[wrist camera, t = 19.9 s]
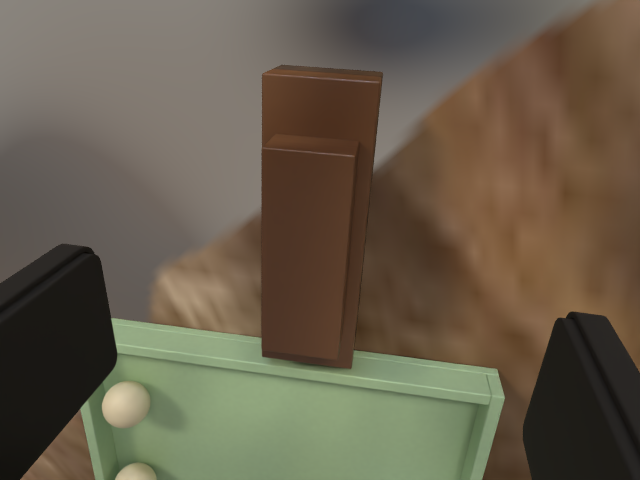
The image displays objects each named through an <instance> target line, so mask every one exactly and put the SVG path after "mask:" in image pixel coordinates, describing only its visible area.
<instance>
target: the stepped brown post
mask: <svg viewBox="0 0 640 480" xmlns="http://www.w3.org/2000/svg"><path fill="white" fill-rule="evenodd" d="M382 77H383V73H382V72H375V71H361V70H346V69H333V68H319V67H304V66H290V65H281V66H278V67H276V68H274V69H272V70H270V71H267V72H265V73H263V74H262V314H261V349H262V357H266V358H273V359H281V360H288V361H295V362H302V363H310V364H317V365H324V366H332V367H339V368H346V369H351V368H352V361H353V353H354V345H355V337H356V330H357V320H358V310H359V301H360V291H361V281H362V271H363V262H364V252H365V242H366V232H367V223H368V213H369V203H370V194H371V184H372V174H373V164H374V154H375V145H376V134H377V125H378V116H379V106H380V96H381V86H382Z"/></svg>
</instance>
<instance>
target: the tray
mask: <svg viewBox="0 0 640 480" xmlns="http://www.w3.org/2000/svg"><path fill="white" fill-rule="evenodd" d="M111 320H112V326H113V332H114V337H115V343H116V348H117V362H116V365H115V367H114V369H113V370H112V372H111V373H110V374H109V375H108V376H107V378H106V379H105V380H104V381H103V382H102V384H101V385H100V386H99V387H98V388H97V389H96V391H95V392H94V393H93V394H92V395H91V396H90V398H89V399H88V400H87V401H86V402H85V404H84V405H83V406H82V407H81V408H80V409H81V414H82V418H83V423H84V428H85V433H86V437H87V442H88V447H89V451H90V456H91V461H92V466H93V470H94V475H95V480H115V478H116V476H117V475H118V473H119V472H120V471H121V470H122V469H123V468H124V467H126V466H127V465H129V464H132V463H137V462H140V463H145V464H147V465H149V466H150V467H151V468H152V469H153V470H154V472H155V474H156V478H157V480H482V478H483V474H484V471H485V467H486V464H487V460H488V457H489V453H490V449H491V446H492V442H493V439H494V435H495V432H496V428H497V425H498V421H499V417H500V414H501V410H502V407H503V403H504V400H505V396H504V393H503V389H502V385H501V382H500V378H499V374H498V371H497V369H493V368H485V367H478V366H470V365H463V364H455V363H448V362H440V361H432V360H425V359H417V358H410V357H402V356H395V355H387V354H380V353H372V352H364V351H357V350H354V353H353V361H352V368H351V369H346V368H339V367H332V366H324V365H317V364H310V363H302V362H295V361H288V360H281V359H273V358H266V357H262V349H261V338H259V337H251V336H244V335H236V334H229V333H221V332H213V331H206V330H198V329H191V328H183V327H176V326H168V325H161V324H153V323H145V322H138V321H130V320H123V319H115V318H111ZM123 381H135V382H138V383H140V384H142V385H143V386H144V387H145V388H146V389H147V391H148V392H149V395H150V401H151V402H150V408H149V411H148V413H147V415H146V417H145V418H144V419H143V420H142V421H141V422H140V423H138V424H137V425H135V426H133V427H130V428H117V427H114V426H112V425H111V424H109V423H108V422H107V421H106V419H105V418H104V416H103V413H102V402H103V399H104V396H105V395H106V393H107V392H108V390H109V389H110V388H111V387H113V386H114V385H116V384H117V383H120V382H123Z"/></svg>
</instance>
